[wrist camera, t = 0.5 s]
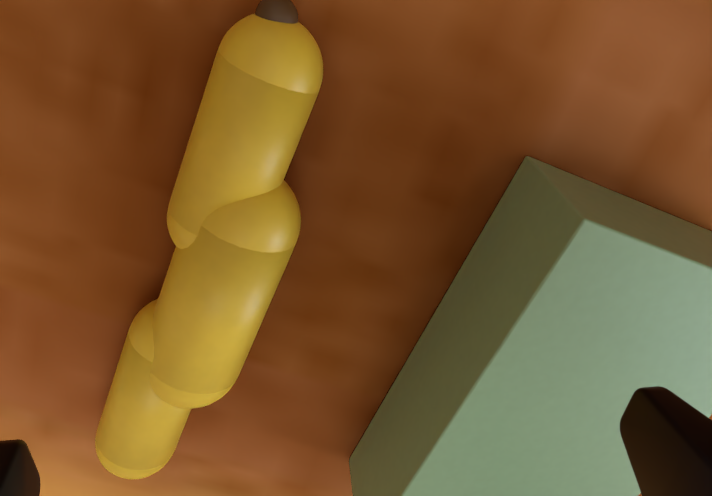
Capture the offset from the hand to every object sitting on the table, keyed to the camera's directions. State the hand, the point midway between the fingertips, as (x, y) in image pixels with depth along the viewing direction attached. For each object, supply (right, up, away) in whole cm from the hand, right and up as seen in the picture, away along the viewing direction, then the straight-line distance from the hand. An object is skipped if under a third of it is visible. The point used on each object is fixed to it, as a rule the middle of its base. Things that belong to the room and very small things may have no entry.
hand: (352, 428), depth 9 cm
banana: (-5, +2, +14) cm, 15 cm away
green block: (+7, -2, +17) cm, 19 cm away
